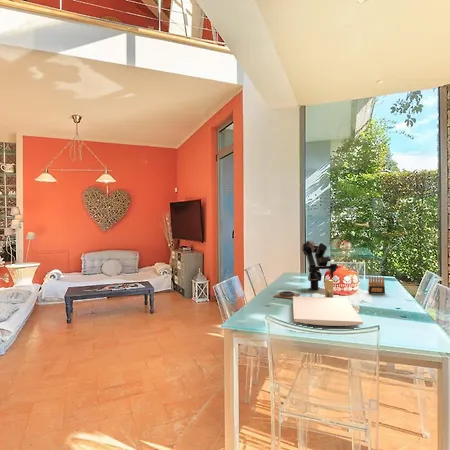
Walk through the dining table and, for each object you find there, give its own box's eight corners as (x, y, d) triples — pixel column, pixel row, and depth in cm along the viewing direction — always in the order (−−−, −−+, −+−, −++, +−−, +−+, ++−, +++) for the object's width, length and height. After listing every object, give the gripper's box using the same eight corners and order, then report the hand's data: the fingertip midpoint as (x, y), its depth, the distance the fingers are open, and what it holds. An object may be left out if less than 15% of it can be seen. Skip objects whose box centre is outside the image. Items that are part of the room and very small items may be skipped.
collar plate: (280, 292, 233) (280, 289, 233) (300, 294, 226) (300, 291, 226) (273, 297, 221) (273, 293, 221) (293, 299, 214) (293, 296, 214)
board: (293, 303, 205) (292, 296, 205) (346, 305, 199) (346, 298, 199) (293, 328, 161) (293, 318, 161) (362, 331, 155) (362, 321, 155)
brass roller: (326, 298, 215) (326, 279, 214) (334, 299, 212) (333, 279, 212) (324, 300, 210) (324, 280, 210) (332, 301, 208) (332, 281, 208)
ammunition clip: (368, 293, 227) (368, 276, 227) (368, 292, 229) (368, 275, 229) (385, 293, 226) (385, 276, 225) (384, 293, 228) (384, 276, 227)
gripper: (309, 252, 223) (314, 271, 212) (336, 252, 223) (342, 270, 213) (306, 262, 231) (310, 280, 220) (332, 261, 231) (338, 280, 221)
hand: (325, 278), depth 218 cm, fingers open, 9 cm apart
